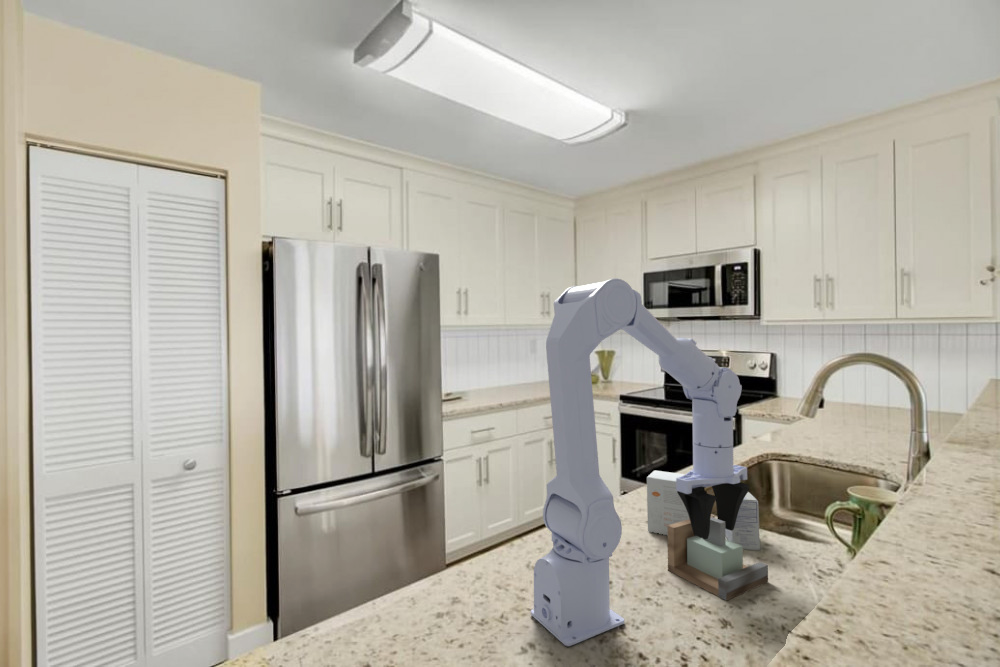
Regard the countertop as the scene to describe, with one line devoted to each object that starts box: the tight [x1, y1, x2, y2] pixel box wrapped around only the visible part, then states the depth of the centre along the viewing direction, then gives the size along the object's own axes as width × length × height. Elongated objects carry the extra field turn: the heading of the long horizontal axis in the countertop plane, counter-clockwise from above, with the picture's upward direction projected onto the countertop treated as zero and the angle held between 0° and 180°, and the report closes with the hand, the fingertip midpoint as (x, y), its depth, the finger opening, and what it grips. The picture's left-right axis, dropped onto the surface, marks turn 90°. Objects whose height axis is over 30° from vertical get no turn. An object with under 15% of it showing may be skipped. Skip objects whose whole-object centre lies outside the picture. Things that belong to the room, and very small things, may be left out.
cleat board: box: [667, 514, 769, 601], centre depth 72 cm, size 10×10×7 cm
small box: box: [646, 470, 690, 537], centre depth 89 cm, size 8×6×10 cm
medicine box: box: [725, 491, 761, 551], centre depth 84 cm, size 8×4×9 cm, turn 168°
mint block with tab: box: [687, 517, 744, 579], centre depth 72 cm, size 5×6×8 cm
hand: (713, 532), depth 72 cm, fingers open, 6 cm apart
